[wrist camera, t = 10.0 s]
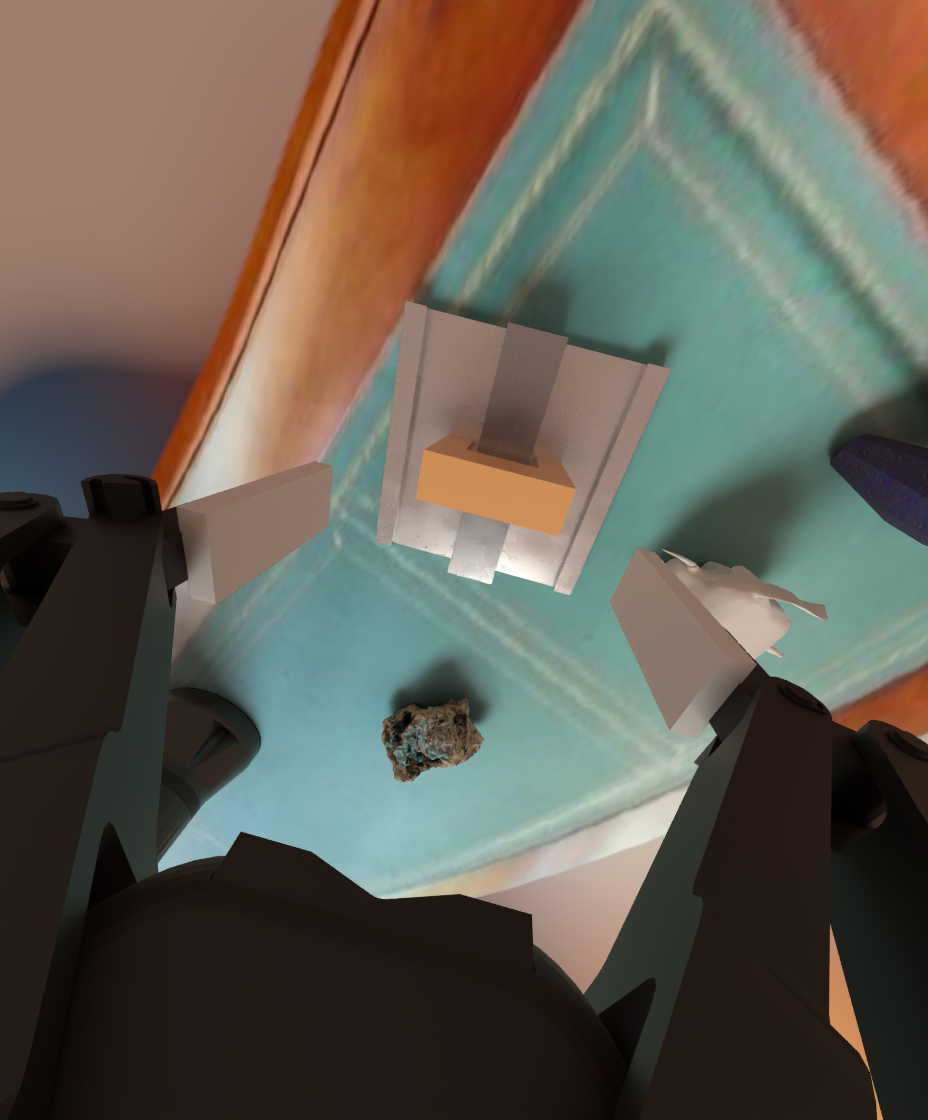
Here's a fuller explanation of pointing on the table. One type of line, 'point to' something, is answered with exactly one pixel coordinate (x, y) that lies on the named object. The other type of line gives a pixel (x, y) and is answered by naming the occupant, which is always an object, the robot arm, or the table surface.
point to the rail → (510, 437)
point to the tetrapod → (889, 480)
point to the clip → (495, 486)
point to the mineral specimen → (429, 738)
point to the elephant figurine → (742, 602)
